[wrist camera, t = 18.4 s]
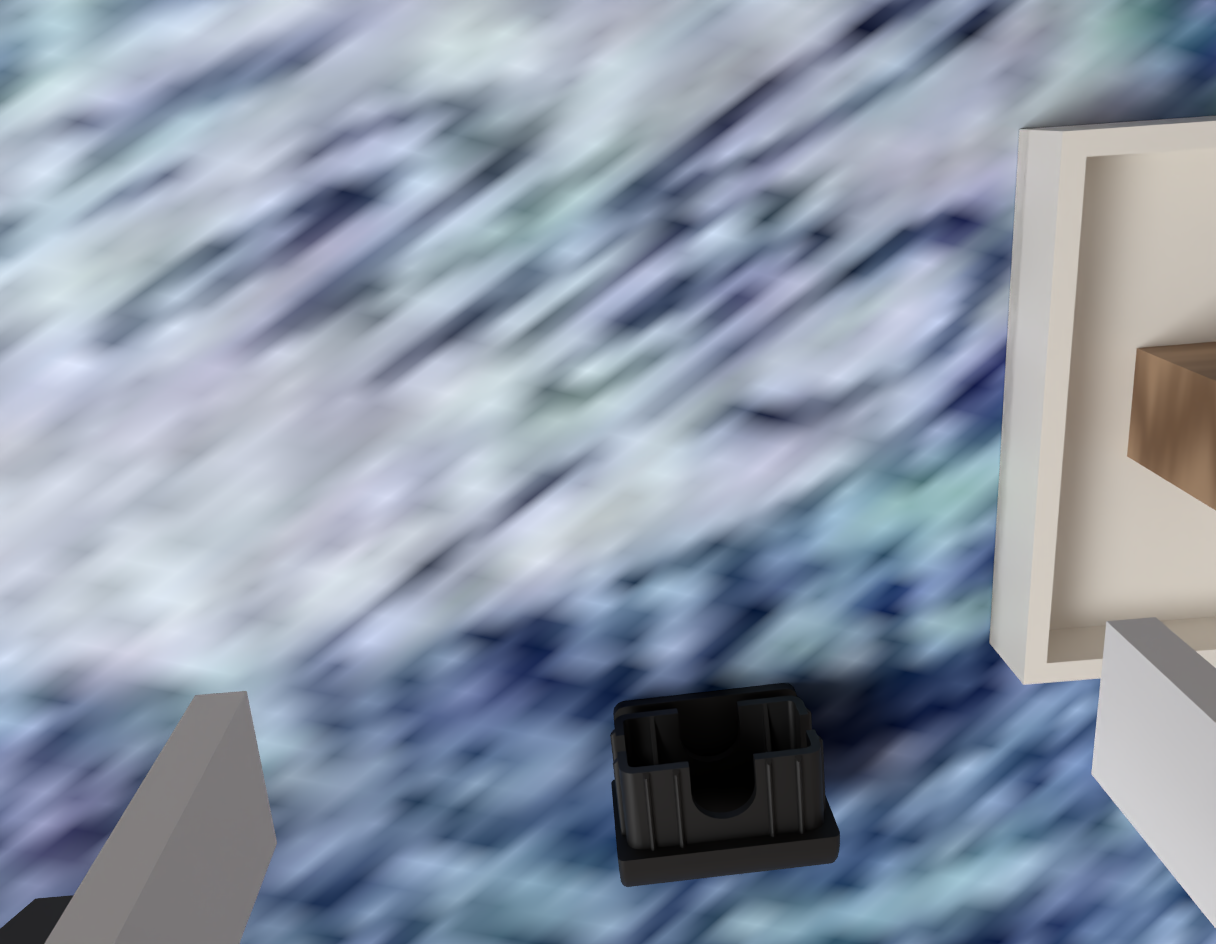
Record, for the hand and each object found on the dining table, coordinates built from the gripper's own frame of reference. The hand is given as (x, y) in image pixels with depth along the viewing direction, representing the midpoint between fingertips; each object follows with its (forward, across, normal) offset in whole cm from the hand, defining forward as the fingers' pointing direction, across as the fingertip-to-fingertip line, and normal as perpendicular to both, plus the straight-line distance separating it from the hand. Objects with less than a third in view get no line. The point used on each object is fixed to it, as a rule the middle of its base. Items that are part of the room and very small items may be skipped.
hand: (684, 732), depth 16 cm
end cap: (+32, +4, -22) cm, 39 cm away
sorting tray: (+32, +26, -5) cm, 41 cm away
